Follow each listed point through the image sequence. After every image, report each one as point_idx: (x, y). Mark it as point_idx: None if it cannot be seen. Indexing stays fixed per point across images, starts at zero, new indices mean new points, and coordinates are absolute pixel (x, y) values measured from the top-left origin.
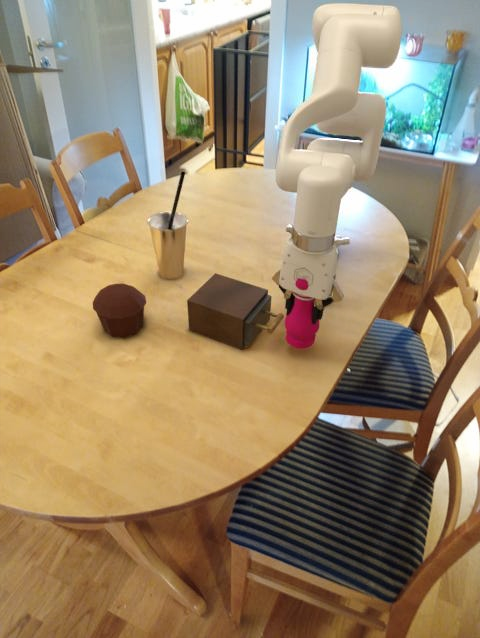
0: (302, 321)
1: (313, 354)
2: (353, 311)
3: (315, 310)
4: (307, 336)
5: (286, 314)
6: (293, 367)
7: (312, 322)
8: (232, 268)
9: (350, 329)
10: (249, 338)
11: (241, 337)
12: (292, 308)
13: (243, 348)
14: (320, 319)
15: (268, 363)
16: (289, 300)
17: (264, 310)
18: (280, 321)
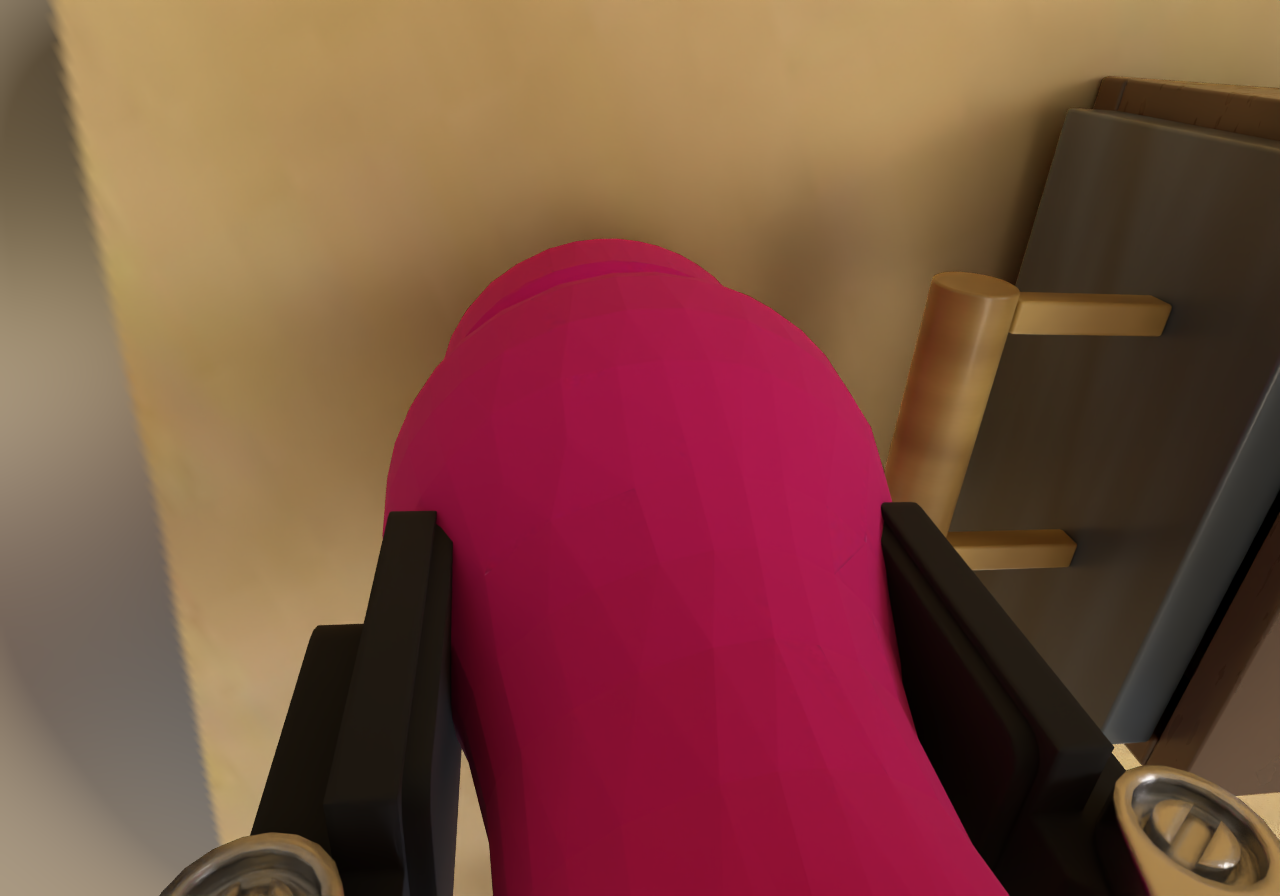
0: (605, 452)
1: (440, 343)
2: None
3: (367, 761)
4: (473, 333)
5: (918, 506)
6: (545, 67)
7: (438, 526)
8: None
9: None
10: (1139, 139)
11: (1245, 93)
12: (887, 630)
13: (1095, 104)
14: (322, 637)
15: (808, 3)
16: (1071, 758)
17: (1101, 548)
18: None
